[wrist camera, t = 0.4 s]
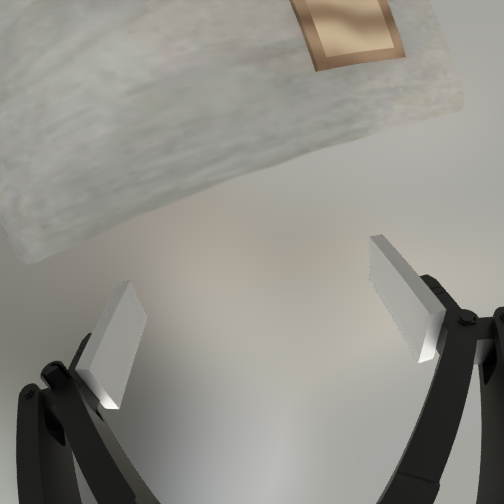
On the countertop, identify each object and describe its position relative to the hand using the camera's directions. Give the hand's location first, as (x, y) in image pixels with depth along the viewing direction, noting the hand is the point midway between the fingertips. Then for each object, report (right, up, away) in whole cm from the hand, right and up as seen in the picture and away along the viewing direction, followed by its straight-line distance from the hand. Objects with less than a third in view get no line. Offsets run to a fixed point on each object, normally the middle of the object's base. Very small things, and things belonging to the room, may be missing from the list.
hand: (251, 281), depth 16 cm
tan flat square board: (+12, +32, +14) cm, 37 cm away
